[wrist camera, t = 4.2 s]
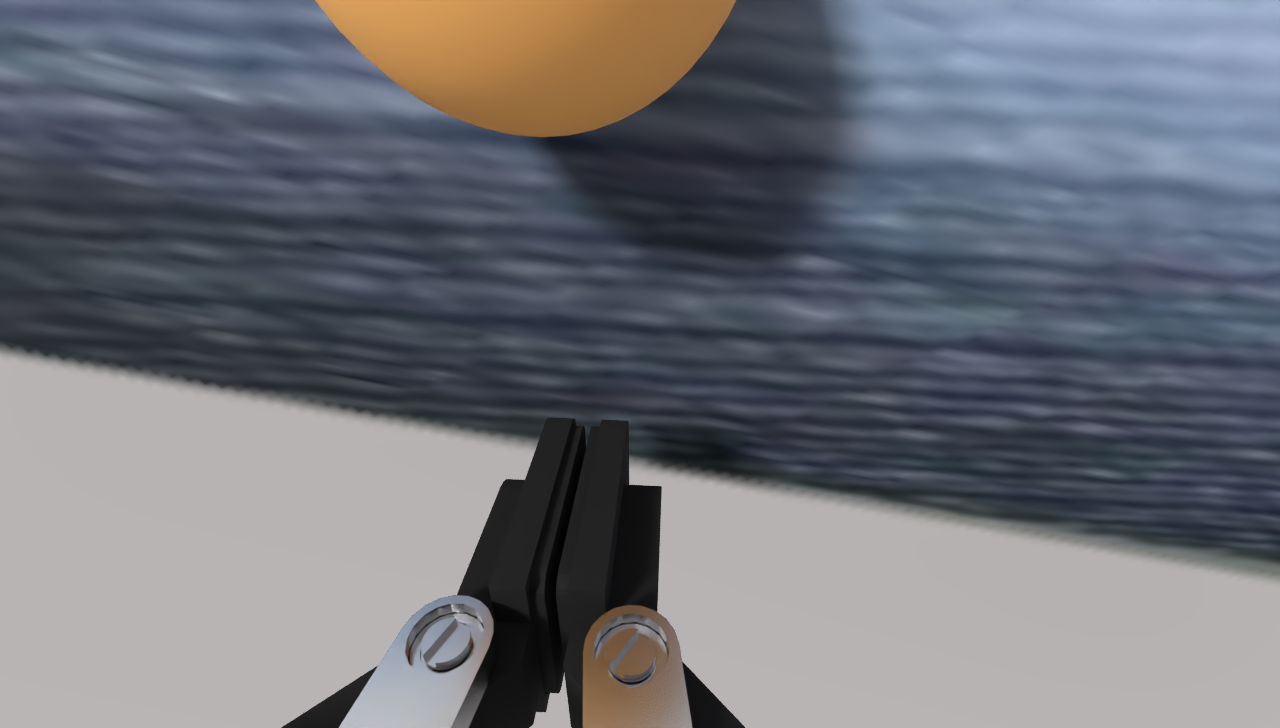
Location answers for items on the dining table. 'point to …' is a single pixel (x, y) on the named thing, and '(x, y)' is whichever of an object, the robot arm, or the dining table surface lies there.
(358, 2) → the ball
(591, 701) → the robot arm
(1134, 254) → the dining table surface
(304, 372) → the dining table surface
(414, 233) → the dining table surface
